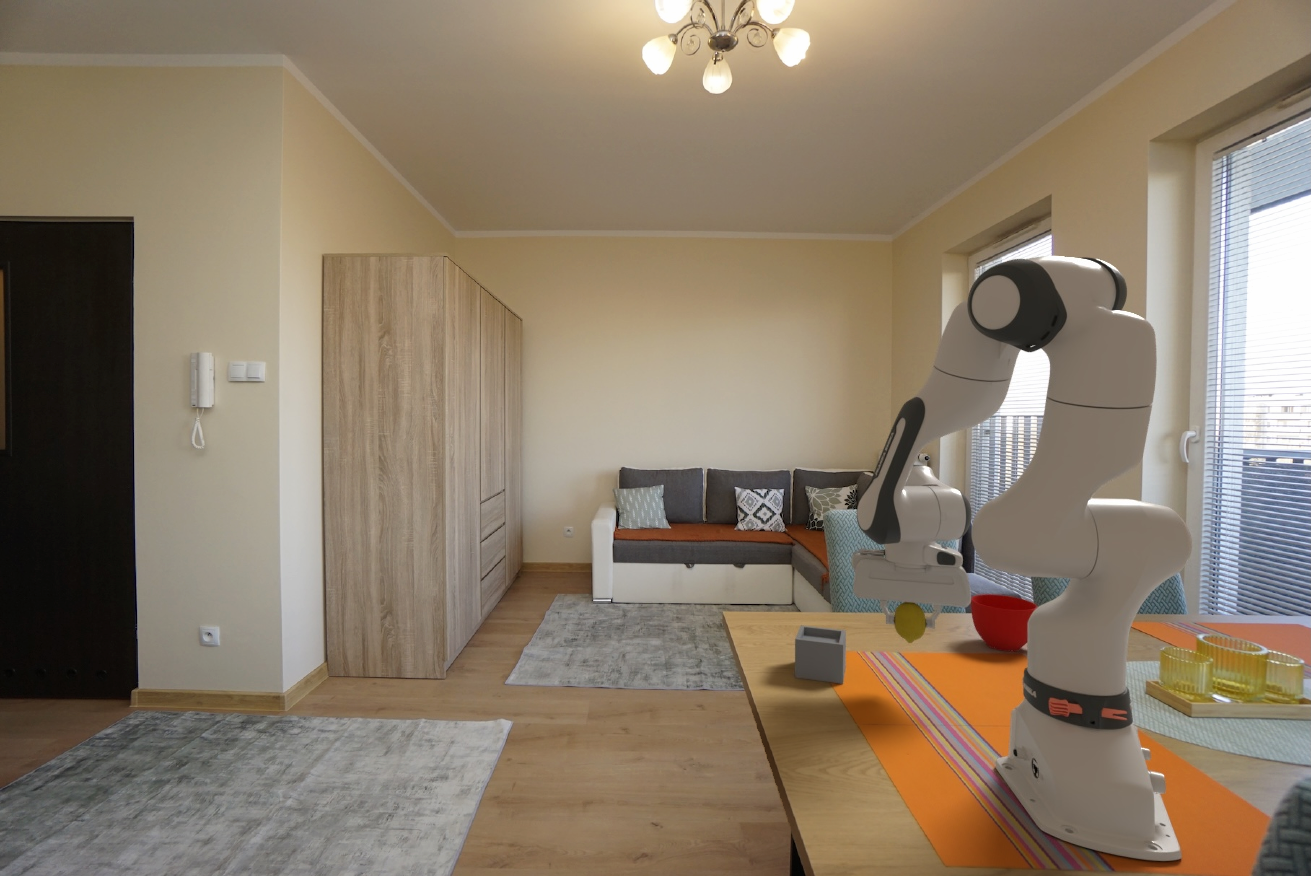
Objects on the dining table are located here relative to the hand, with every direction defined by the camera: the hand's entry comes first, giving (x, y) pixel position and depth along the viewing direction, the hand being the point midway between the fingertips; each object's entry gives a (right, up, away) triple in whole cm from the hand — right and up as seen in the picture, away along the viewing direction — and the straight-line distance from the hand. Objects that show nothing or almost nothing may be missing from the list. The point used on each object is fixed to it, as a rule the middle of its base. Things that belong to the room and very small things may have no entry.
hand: (909, 625), depth 112 cm
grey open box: (-14, -12, +8) cm, 20 cm away
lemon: (0, -4, 0) cm, 4 cm away
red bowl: (+33, -12, +22) cm, 41 cm away
